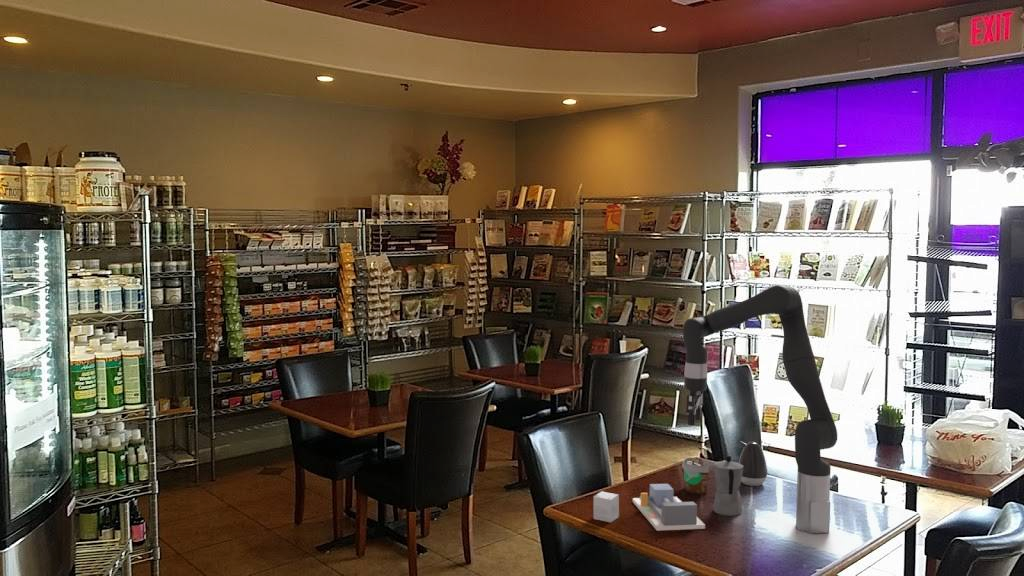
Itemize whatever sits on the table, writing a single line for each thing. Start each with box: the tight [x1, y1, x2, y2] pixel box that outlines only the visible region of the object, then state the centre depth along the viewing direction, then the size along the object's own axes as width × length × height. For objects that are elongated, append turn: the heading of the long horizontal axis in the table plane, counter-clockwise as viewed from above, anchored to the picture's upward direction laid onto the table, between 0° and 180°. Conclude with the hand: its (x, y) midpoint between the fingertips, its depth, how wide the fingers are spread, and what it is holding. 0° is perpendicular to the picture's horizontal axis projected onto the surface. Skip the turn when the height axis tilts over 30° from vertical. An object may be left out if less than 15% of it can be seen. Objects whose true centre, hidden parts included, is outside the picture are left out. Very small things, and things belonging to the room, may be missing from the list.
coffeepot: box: [712, 455, 744, 517], centre depth 252 cm, size 15×9×18 cm, turn 171°
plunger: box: [638, 483, 675, 507], centre depth 253 cm, size 11×10×6 cm
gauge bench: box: [632, 496, 706, 532], centre depth 250 cm, size 26×15×7 cm, turn 7°
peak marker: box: [640, 492, 649, 506], centre depth 254 cm, size 1×2×4 cm, turn 97°
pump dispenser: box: [738, 441, 768, 487], centre depth 282 cm, size 10×10×15 cm
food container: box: [681, 456, 710, 495], centre depth 274 cm, size 12×6×10 cm, turn 17°
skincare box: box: [593, 490, 620, 523], centre depth 247 cm, size 6×6×7 cm
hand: (694, 422), depth 272 cm, fingers open, 8 cm apart
